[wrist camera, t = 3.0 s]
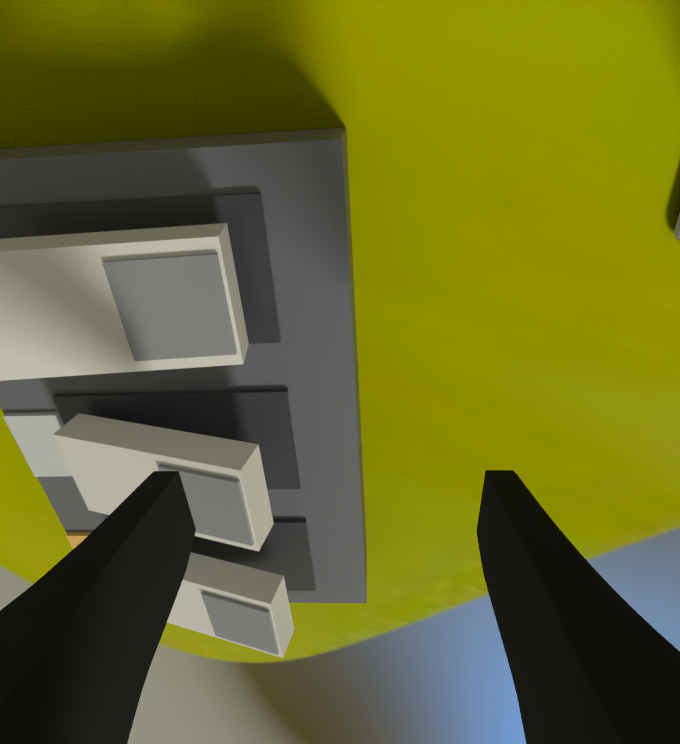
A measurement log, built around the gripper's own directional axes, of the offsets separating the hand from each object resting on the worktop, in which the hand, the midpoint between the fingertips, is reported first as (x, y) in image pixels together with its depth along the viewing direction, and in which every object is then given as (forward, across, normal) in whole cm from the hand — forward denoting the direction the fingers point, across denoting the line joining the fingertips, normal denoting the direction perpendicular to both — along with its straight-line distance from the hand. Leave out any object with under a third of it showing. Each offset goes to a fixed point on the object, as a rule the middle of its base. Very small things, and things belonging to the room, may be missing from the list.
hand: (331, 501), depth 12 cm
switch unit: (+8, +6, +3) cm, 11 cm away
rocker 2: (+4, +6, +9) cm, 12 cm away
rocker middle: (+4, +6, +3) cm, 8 cm away
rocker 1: (+4, +6, -4) cm, 8 cm away
